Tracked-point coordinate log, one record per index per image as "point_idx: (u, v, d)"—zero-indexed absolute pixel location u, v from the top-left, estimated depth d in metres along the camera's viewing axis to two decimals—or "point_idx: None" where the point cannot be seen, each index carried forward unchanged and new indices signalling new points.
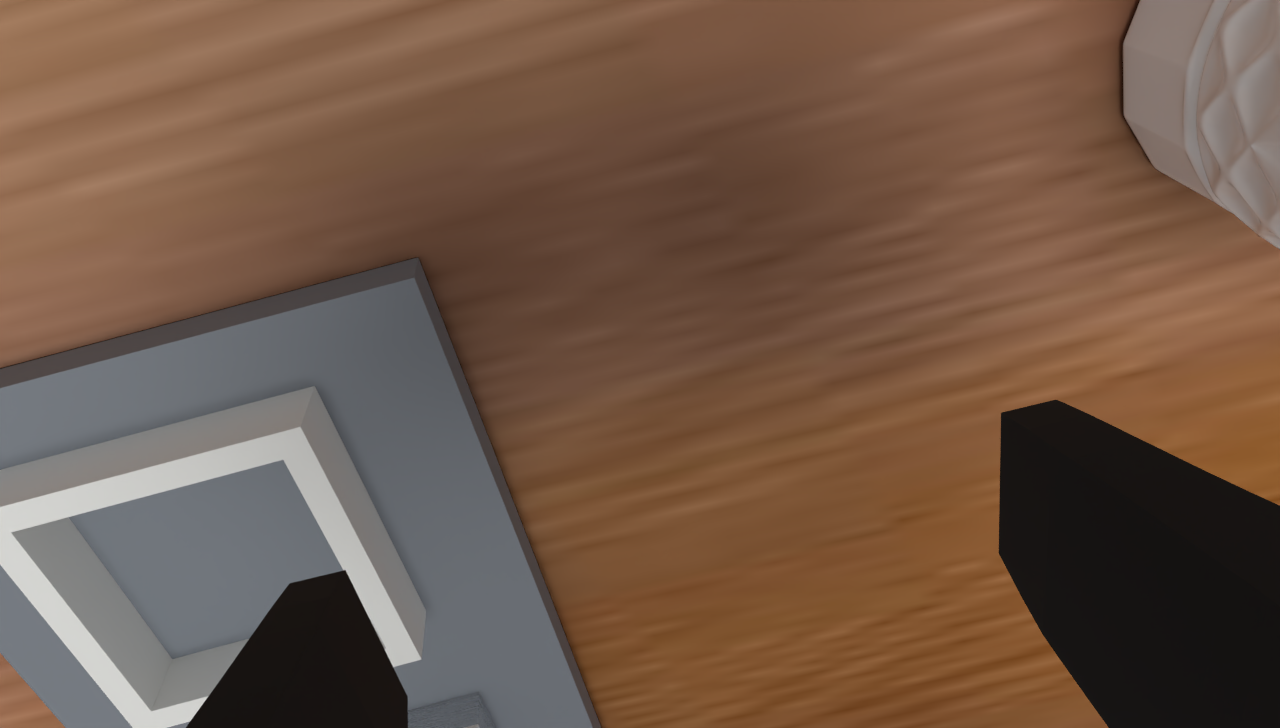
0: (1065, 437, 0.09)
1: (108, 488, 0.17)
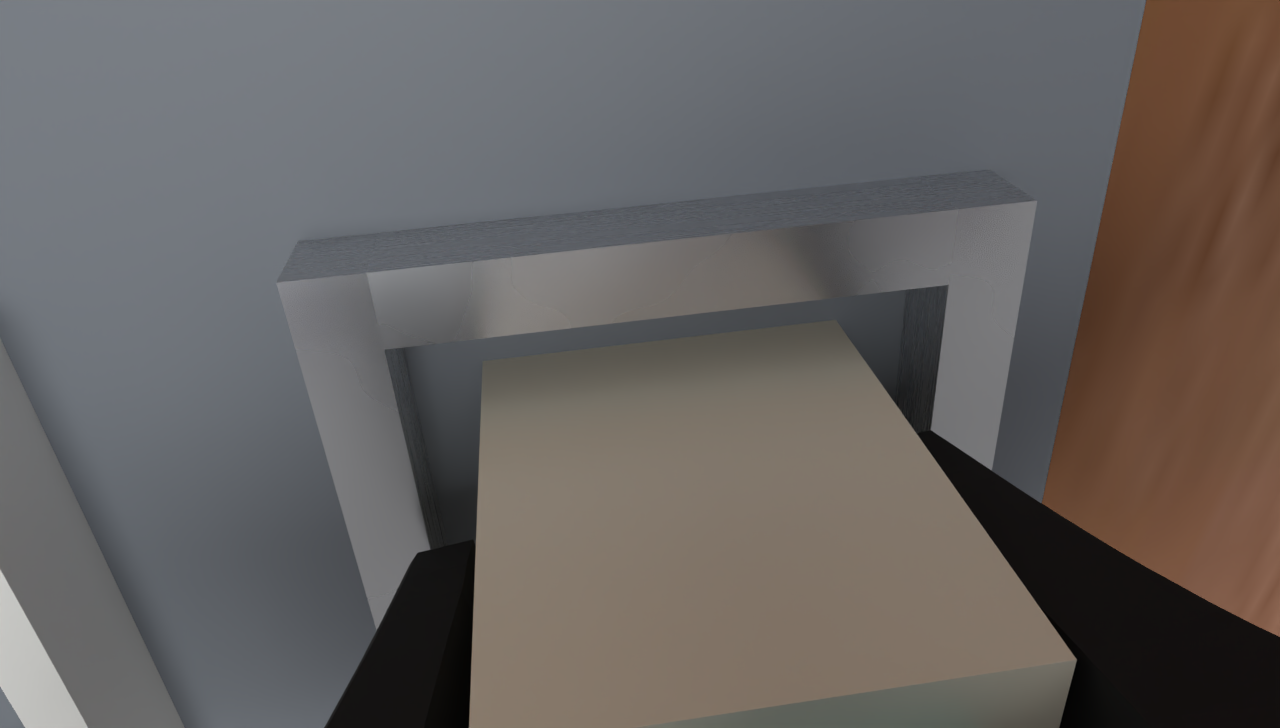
0: None
1: None
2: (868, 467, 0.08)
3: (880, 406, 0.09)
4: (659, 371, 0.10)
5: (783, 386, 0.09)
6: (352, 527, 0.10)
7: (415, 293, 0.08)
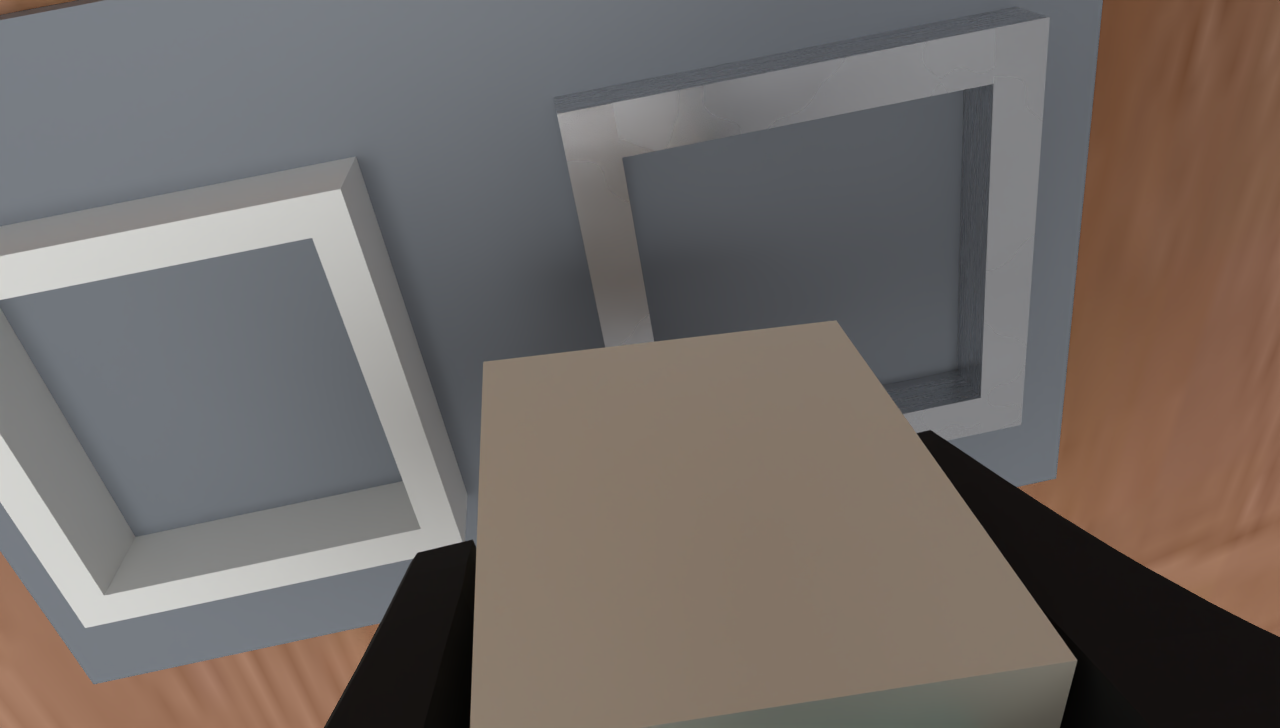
0: None
1: (16, 502, 0.14)
2: (868, 467, 0.08)
3: (880, 406, 0.09)
4: (659, 372, 0.10)
5: (783, 386, 0.09)
6: (597, 294, 0.14)
7: (642, 115, 0.13)
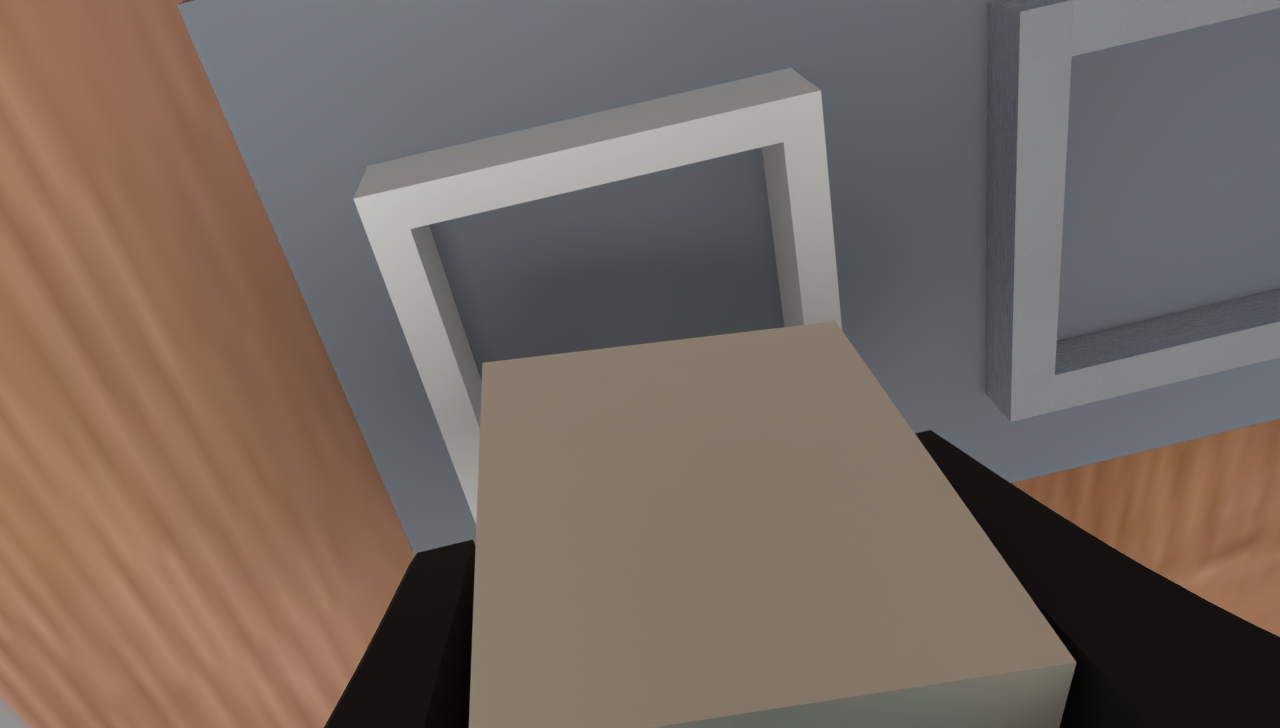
0: None
1: (452, 422, 0.14)
2: (867, 469, 0.08)
3: (880, 408, 0.09)
4: (658, 373, 0.10)
5: (783, 387, 0.09)
6: (1018, 200, 0.14)
7: (1100, 11, 0.13)
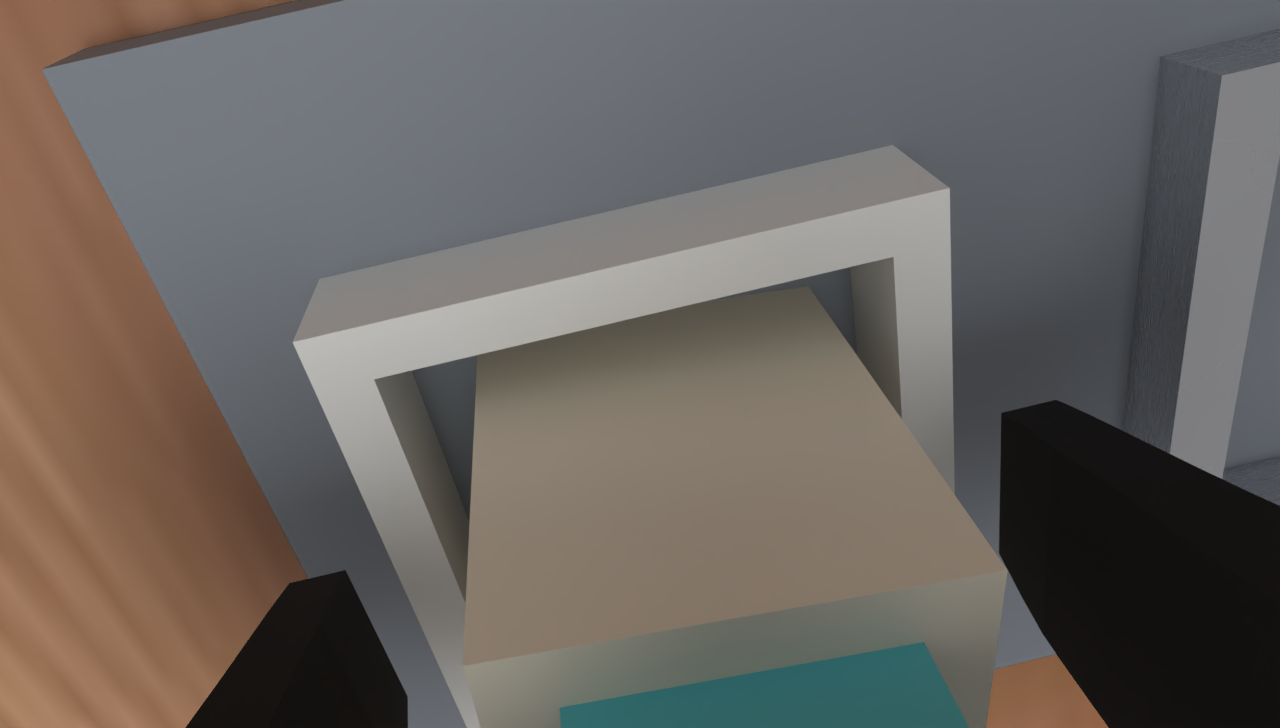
0: (1065, 437, 0.09)
1: (435, 614, 0.11)
2: (830, 415, 0.09)
3: (845, 361, 0.09)
4: (641, 339, 0.10)
5: (756, 347, 0.10)
6: (1191, 318, 0.11)
7: None
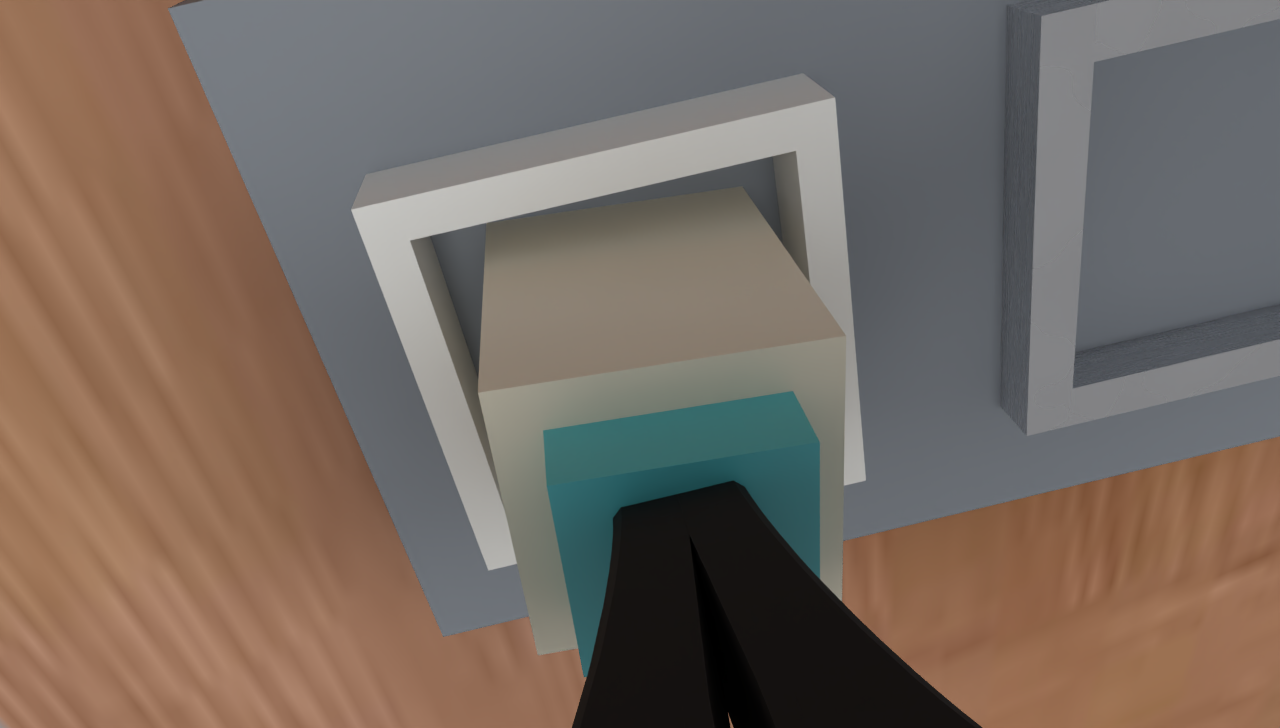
0: (708, 523, 0.09)
1: (453, 438, 0.14)
2: (744, 260, 0.12)
3: (761, 230, 0.13)
4: (610, 220, 0.13)
5: (697, 223, 0.13)
6: (1037, 209, 0.14)
7: (1124, 15, 0.13)
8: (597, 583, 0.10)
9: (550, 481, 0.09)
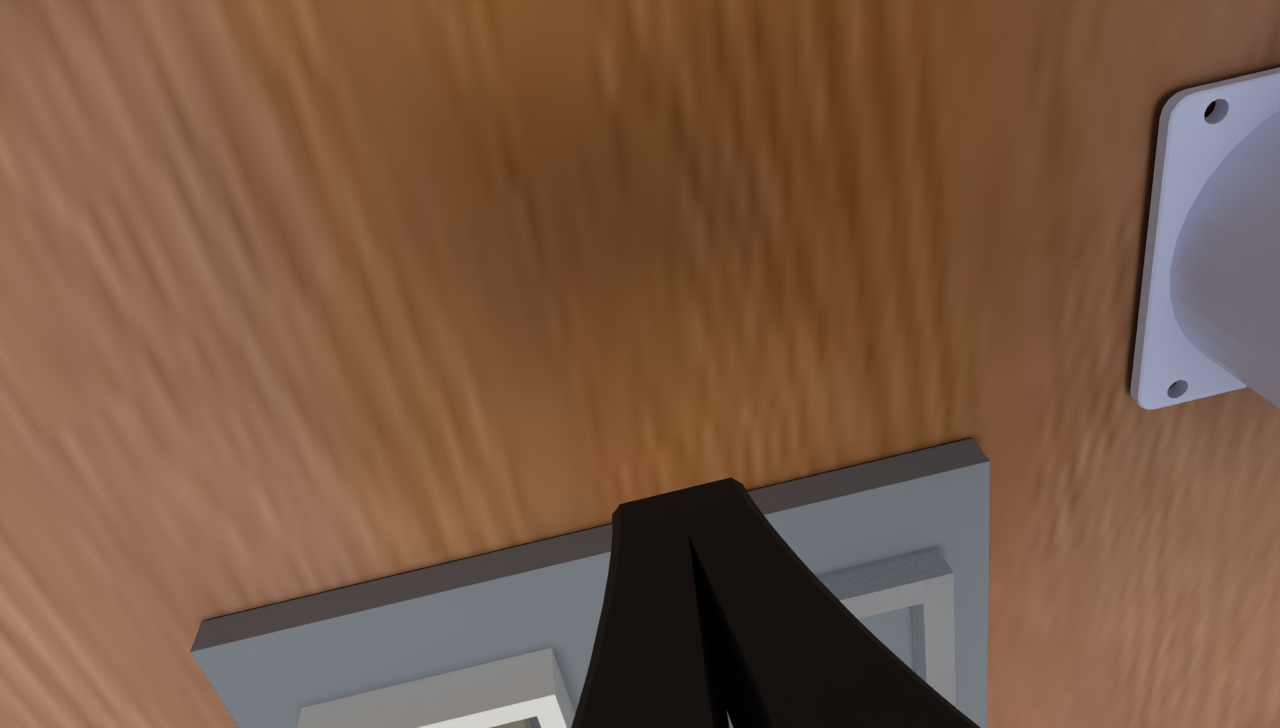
0: (706, 524, 0.08)
1: None
2: None
3: None
4: None
5: None
6: None
7: None
8: None
9: None
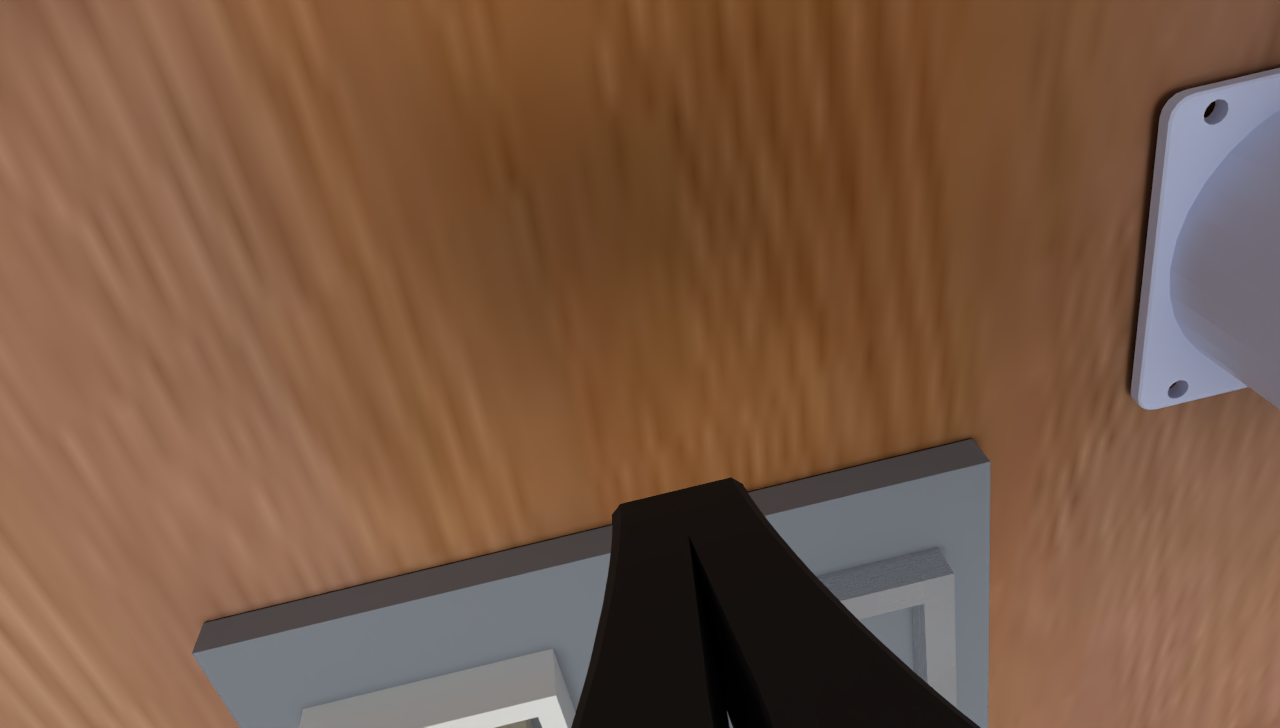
0: (707, 524, 0.08)
1: None
2: None
3: None
4: None
5: None
6: None
7: None
8: None
9: None
